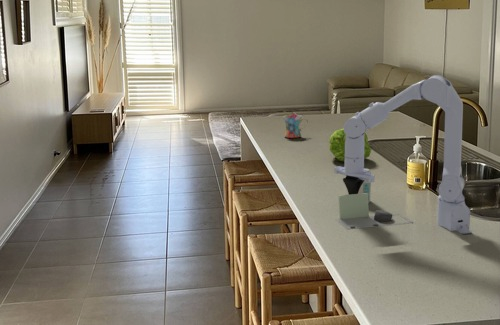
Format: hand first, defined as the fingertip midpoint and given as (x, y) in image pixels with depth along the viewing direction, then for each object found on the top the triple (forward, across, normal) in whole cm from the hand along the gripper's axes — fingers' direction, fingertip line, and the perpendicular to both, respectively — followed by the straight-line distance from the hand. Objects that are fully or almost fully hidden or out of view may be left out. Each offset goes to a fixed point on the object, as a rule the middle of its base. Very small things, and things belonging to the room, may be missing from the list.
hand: (353, 200), depth 196 cm
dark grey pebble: (+4, -9, -2) cm, 11 cm away
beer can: (+6, +7, -12) cm, 15 cm away
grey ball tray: (+6, -9, +1) cm, 10 cm away
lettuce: (+6, +58, -58) cm, 82 cm away
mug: (+7, +108, -73) cm, 131 cm away
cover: (+1, -3, +2) cm, 3 cm away
